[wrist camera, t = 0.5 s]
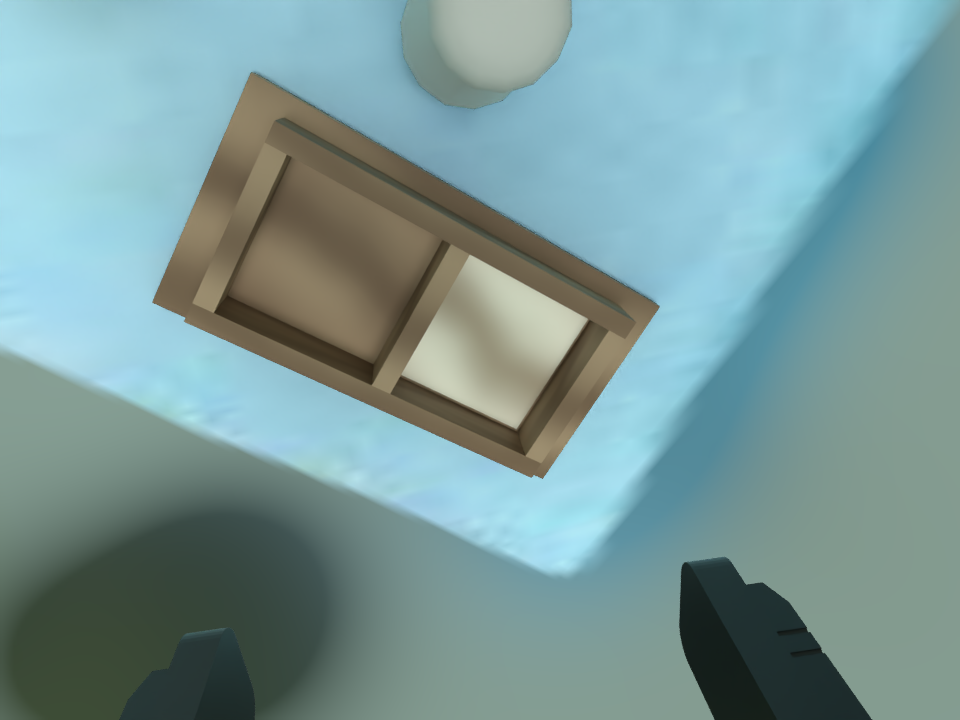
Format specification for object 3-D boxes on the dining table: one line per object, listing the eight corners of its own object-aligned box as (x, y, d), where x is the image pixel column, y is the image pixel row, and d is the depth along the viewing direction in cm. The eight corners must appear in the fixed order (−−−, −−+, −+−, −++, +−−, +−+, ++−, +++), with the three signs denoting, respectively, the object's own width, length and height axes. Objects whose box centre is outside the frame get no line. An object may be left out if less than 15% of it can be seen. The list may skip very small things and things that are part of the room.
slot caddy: (254, 72, 30) (237, 71, 27) (654, 302, 37) (679, 323, 34) (157, 297, 34) (132, 320, 30) (539, 471, 40) (552, 505, 37)
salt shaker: (551, 23, 31) (648, -14, 19) (480, 131, 32) (529, 160, 20) (445, -64, 29) (480, -166, 17) (375, 54, 31) (362, 37, 19)
